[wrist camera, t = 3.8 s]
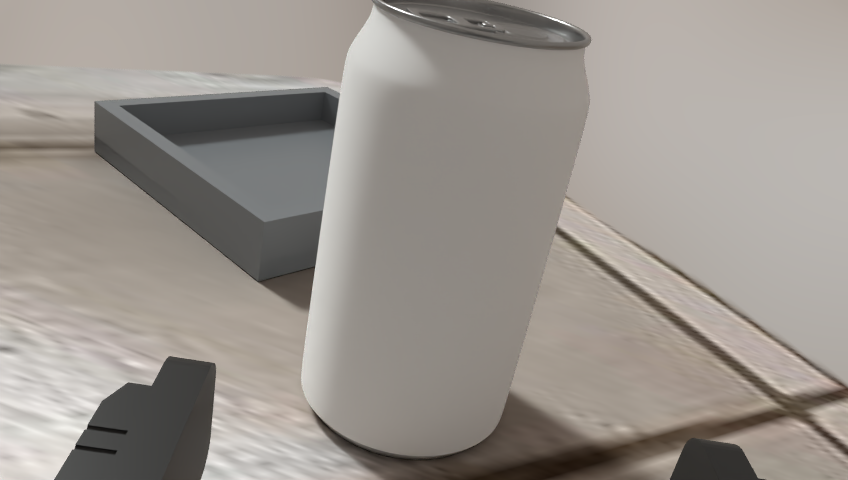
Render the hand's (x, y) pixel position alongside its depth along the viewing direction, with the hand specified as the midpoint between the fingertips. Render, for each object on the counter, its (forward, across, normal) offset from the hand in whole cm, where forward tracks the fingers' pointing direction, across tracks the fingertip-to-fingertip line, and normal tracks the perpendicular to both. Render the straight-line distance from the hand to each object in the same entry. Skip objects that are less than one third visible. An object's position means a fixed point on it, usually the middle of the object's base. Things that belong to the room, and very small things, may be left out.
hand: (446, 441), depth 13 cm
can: (+10, 0, +7) cm, 12 cm away
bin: (+25, +6, +6) cm, 27 cm away
